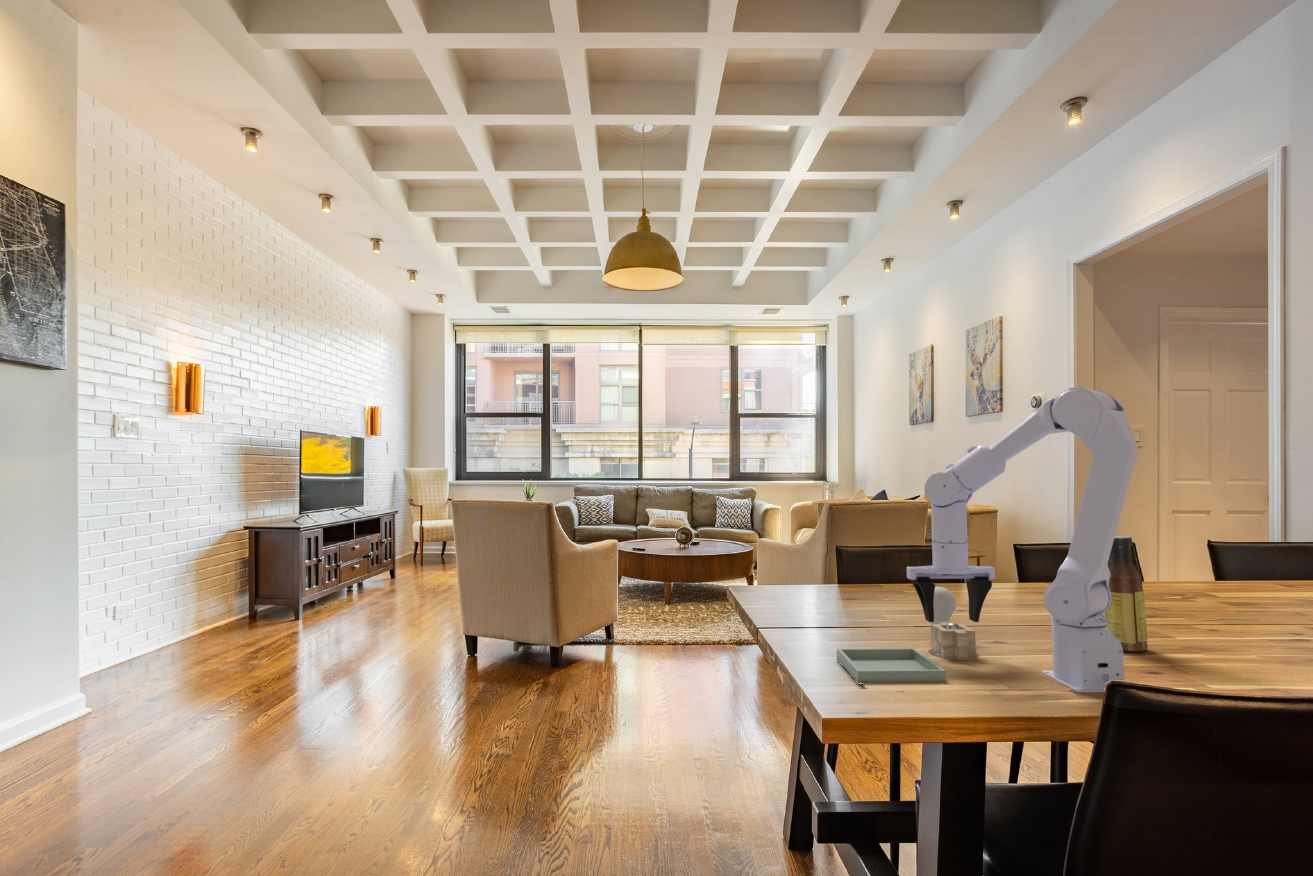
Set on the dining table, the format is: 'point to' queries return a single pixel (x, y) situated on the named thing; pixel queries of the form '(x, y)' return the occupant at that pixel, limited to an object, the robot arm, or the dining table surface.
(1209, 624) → the dining table surface
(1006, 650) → the dining table surface
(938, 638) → the beige hollow block
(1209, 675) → the dining table surface
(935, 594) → the light bulb
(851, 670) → the tray
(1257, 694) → the dining table surface
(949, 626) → the grey metal round stand
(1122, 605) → the sauce bottle
